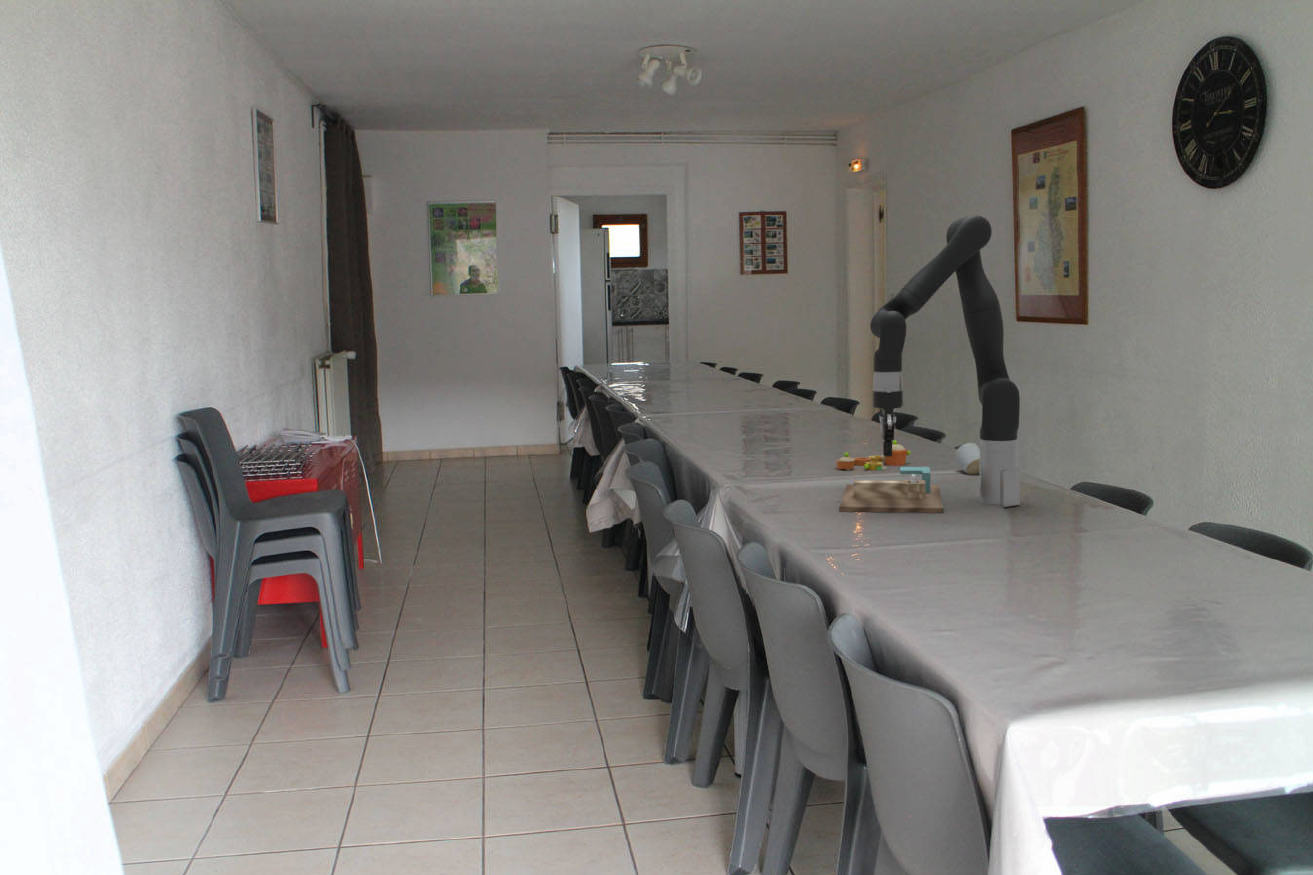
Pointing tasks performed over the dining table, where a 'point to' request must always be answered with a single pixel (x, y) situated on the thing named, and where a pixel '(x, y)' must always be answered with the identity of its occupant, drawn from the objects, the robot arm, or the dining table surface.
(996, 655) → the dining table surface
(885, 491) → the maple link
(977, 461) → the ceramic mug
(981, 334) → the robot arm
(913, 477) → the rod
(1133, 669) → the dining table surface
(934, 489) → the walnut board
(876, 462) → the toy tea set
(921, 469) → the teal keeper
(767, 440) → the dining table surface
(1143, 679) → the dining table surface
